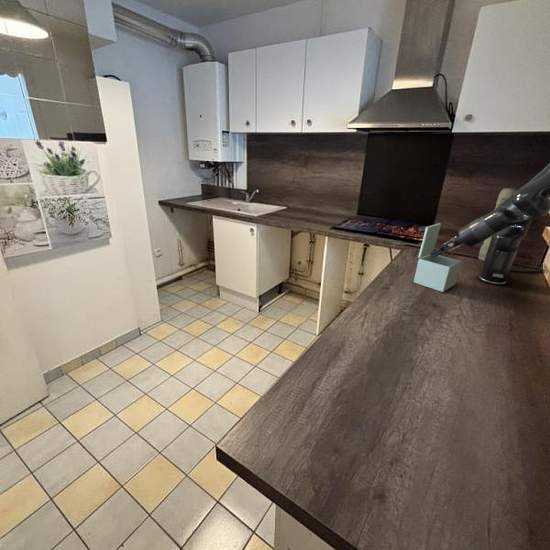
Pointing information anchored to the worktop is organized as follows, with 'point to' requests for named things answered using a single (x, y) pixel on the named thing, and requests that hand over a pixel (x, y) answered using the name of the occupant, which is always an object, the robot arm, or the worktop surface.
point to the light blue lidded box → (437, 272)
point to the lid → (429, 239)
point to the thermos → (502, 196)
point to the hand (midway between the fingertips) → (435, 253)
